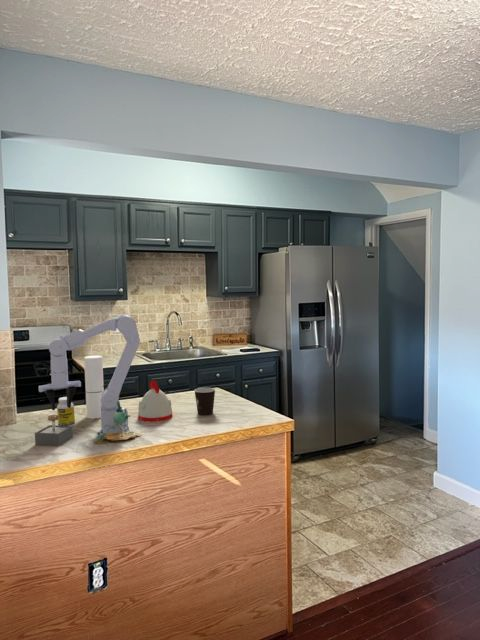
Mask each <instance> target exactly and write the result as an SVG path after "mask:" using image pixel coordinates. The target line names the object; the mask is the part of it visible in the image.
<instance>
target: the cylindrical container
mask: <svg viewBox="0 0 480 640" xmlns="http://www.w3.org/2000/svg"><path fill="white" fill-rule="evenodd" d="M83 360H84V364H83V365H84V383H85V386H84V387H85V404H86V405H85V406H86V408H85V410H86V418H87V419H89V418H90V419H91V420H95V418H97V419H101V406H102V404H101V398H102V393H103V391H104V390H105V389H104V370H103V369H104V367H103V356H102V355H87V356H84V359H83Z"/></svg>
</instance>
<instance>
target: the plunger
mask: <svg viewBox="0 0 480 640" xmlns="http://www.w3.org/2000/svg"><path fill="white" fill-rule="evenodd" d="M58 419H59V415H58V414H52V415H47V420H48V421H50V422H51V425H52V427H49V428H47V429H45V430H44V431H42V432H40V433H57V434H58V433H60V432H61V431H63V430H65V429H67V428H66V427H55V425H56V421H58Z"/></svg>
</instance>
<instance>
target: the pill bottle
mask: <svg viewBox="0 0 480 640" xmlns="http://www.w3.org/2000/svg"><path fill="white" fill-rule="evenodd" d="M56 409H57V412H56V413H57V415H59V419H58V420H57V425H58V426H72V427H74V426H75V424H76V420H75V419H76V418H75V417H76V416H75V405H74V403H73V402H71V408H68V407H67V396H63V397H61V396H60V397H59V398H58V404H57V406H56Z"/></svg>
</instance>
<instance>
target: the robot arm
mask: <svg viewBox="0 0 480 640" xmlns="http://www.w3.org/2000/svg"><path fill="white" fill-rule="evenodd" d="M117 330H118V331H119V332H120V333H121V335H123V337H124V340H125V342H126V343H125V344H124V345H125V346H124V349H123V350H122V353H121V355H120V358H119V360H118V362H117V365H116V367H115V369H114V372H113V375H112V377H111V379H110V381H109V384H108V386H107V387H106V388H105V389H104V391H103V393H102V398H101V404H102V406H101V418H100V419H101V420H100V423H101V424H100V426H101V429H99V430H98V431H96V433H97V434H101V430H102V432H103V433H104V434H108V433H118V432H119V431H121V429H123V430H122V431H126V432H127V431H128V429H130V427H129V418H128V419H127V420H126V422H125V423H123V424H122V425H125V426H122V425H119V424H118V425H116V423H115V422H114V420H113V416H114V414H115V412H116V410H117V409H118V406H117V401H119V402H120V400H119V398H120V393H121V390H122V387H123V384H124V382H125V379H126V377H127V375H128V372H129V370H130V367H131V366H132V362H133V361H134V358H135V356H136V354H137V351H138V348H139V347H140V344H141V338H140V335H139V331H138V325H137V323H136V321H135V319H134V318H133V317H132V316H131V315H130V314H126V313H123V314H121V315H120V316H115V317H112V318H109V319H105V320H104V321H102V322H100V323H97V324H95V325H93V326H91V327H89V328H87V329H85V330H83V329H81V328H79V329H77V328H75V329H73V330H72V331H71V332H70V333H67V334H66V335H63V334H62V335H60V336H59V338H56V339H54V340H52V341H51V342H50V343H49V346H48V351H49V353H50V375H51V379H50V380H51V383H48V384H43V385H38V392H39V393H43V392H44V393H45V394H46V395H45V396H47V399H48V401H49V403H50V407H51V410H52V411H56V399H55V398H56V397H55V396H56V393H55V390H64V389H65V392H66V394H65V395H66V397H67V407H68V408H71V403H73V398H74V396H75V393H76V391H77V387H79V388H81V387H82V382H81V381H80V380H73V381H71V380H70V381H69V371H68V366H69V365H68V358H67V351H72V350H75V349H76V348H78V347H82V346H83V345H85V344H87V342H88V340H89V339H90V338H92V337H96V336H97V335H100V334H102V333H105V332H107V331H111V332H117ZM122 410H123V411H124V412H125V410H126V412H125V413H126V414H127V415H129V413H128V410H127V408H126V407H122ZM106 425H109V426H106ZM114 425H115V426H114ZM105 426H106V427H105ZM110 426H111V427H110ZM113 426H114V427H116V426H117V427H116V428H115V429H114V430H113V428H112V427H113ZM118 426H119V427H120V428H121V429H120V428H119V427H118ZM126 426H127V427H128V428H127V427H126ZM104 427H105V428H104ZM123 427H124V428H125V430H124V428H123ZM108 429H109V430H108Z"/></svg>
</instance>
